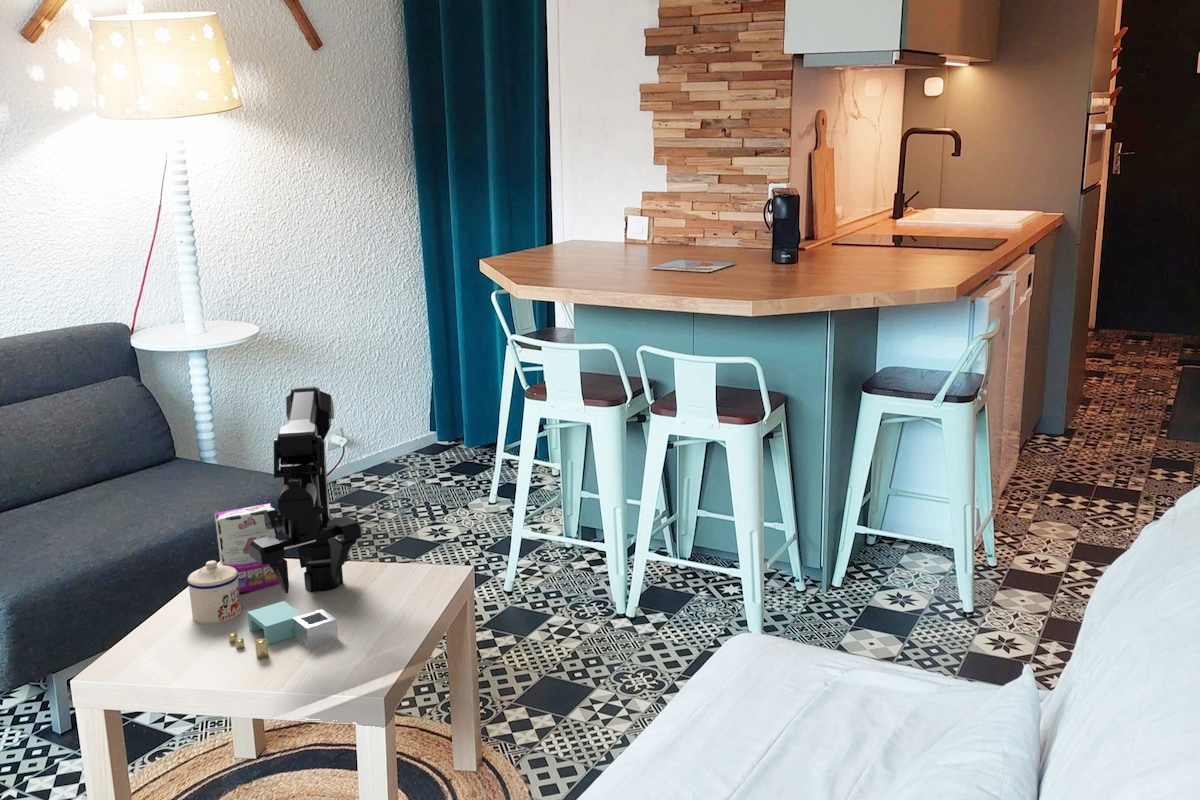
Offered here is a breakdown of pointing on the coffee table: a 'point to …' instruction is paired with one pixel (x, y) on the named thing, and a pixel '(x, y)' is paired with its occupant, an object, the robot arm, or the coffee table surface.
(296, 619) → the hollow square metal block
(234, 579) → the teacup with lid
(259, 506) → the candy bar box
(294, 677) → the coffee table surface
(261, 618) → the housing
